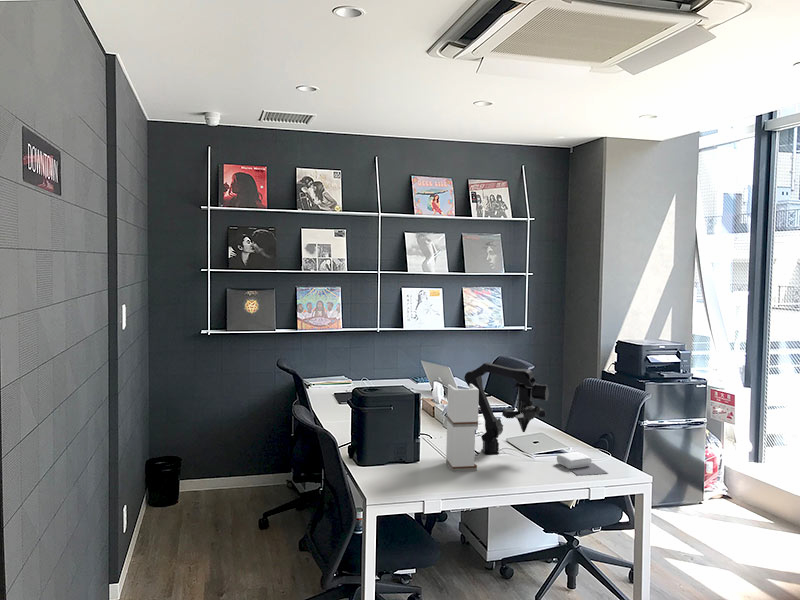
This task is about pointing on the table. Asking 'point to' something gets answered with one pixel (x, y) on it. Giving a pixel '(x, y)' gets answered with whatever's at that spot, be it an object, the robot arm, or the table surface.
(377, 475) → the table surface
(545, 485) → the table surface
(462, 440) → the stacked white pillar
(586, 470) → the mat
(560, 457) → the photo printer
